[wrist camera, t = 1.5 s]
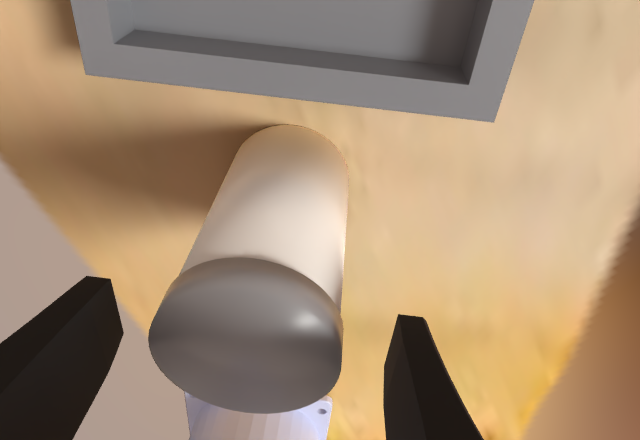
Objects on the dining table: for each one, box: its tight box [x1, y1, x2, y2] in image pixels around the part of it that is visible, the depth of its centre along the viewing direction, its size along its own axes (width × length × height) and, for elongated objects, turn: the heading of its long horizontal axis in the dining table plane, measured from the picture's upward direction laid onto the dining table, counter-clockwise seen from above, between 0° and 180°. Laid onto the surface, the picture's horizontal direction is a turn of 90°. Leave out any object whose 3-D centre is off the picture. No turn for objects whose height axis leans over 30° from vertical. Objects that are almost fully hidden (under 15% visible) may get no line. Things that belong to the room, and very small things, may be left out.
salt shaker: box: [148, 125, 349, 414], centre depth 15 cm, size 5×5×8 cm
